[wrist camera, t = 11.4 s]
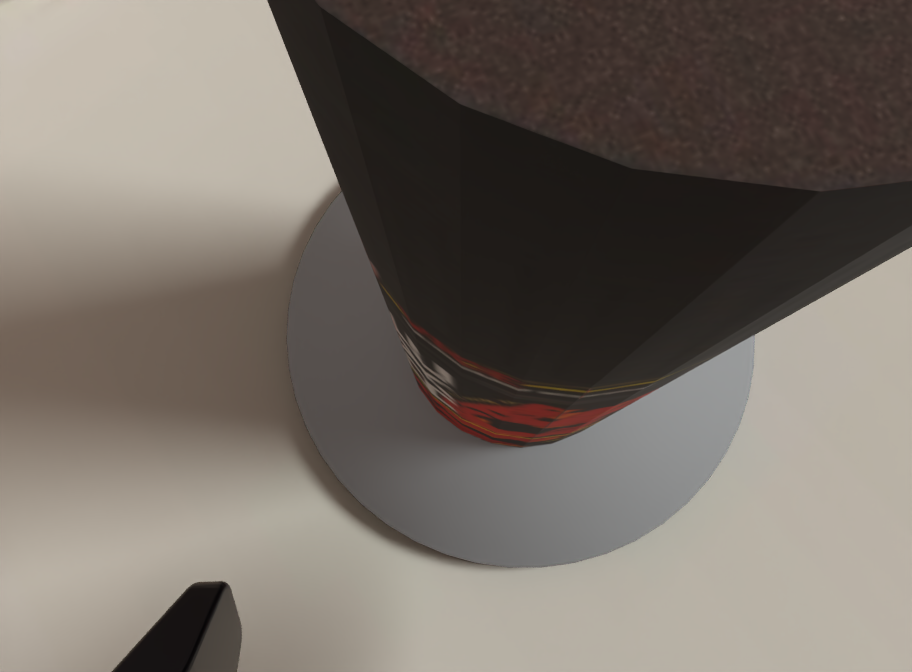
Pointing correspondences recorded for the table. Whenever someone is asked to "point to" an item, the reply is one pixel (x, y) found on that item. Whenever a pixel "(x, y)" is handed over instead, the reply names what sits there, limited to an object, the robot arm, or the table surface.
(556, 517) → the slate mat
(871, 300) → the table surface
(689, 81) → the deodorant
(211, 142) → the table surface
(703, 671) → the table surface
